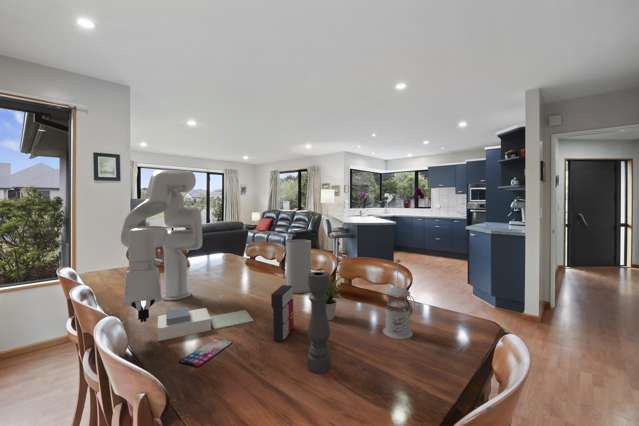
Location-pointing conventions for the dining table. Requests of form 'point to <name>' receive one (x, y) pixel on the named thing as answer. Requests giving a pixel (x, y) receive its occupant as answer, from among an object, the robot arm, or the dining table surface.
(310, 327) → the candle holder
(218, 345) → the smartphone
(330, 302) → the house plant
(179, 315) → the tile
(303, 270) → the cylinder vase
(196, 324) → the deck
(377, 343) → the dining table surface
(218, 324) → the mat
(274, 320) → the dark grey box
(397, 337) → the french press
